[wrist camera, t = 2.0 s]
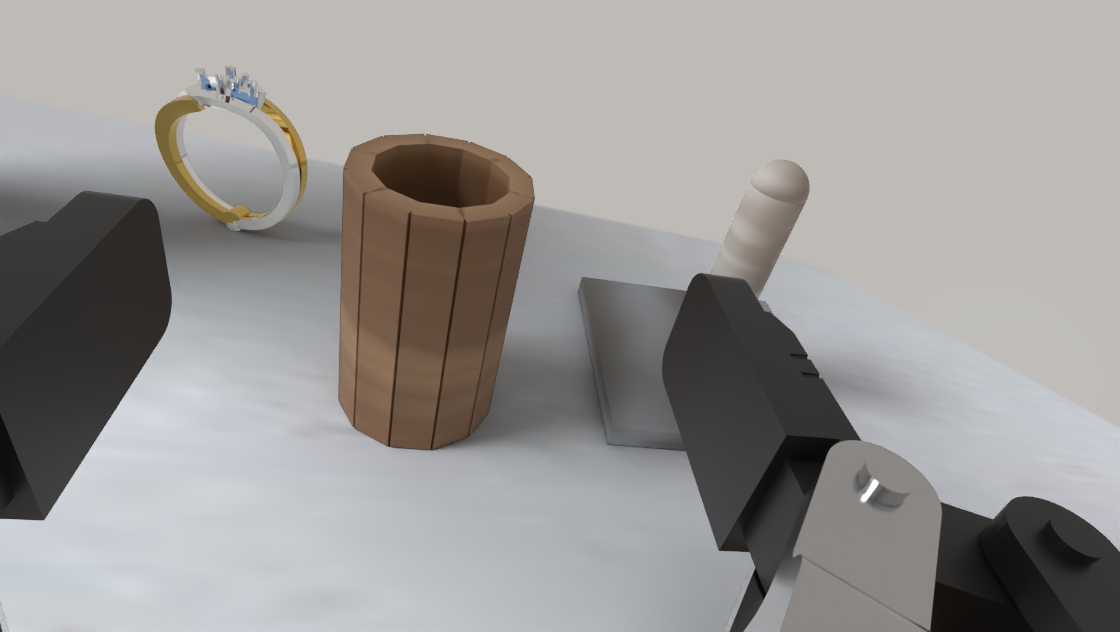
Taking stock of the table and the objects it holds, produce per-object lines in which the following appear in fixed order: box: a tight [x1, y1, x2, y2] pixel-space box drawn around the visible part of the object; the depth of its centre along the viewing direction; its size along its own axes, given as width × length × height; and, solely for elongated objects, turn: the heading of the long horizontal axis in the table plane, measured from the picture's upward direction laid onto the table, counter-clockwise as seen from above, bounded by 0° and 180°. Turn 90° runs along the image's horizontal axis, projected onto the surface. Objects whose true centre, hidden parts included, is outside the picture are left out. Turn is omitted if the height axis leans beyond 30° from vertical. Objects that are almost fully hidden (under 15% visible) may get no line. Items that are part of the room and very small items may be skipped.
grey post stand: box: [578, 160, 809, 450], centre depth 29 cm, size 11×11×11 cm
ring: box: [155, 66, 307, 231], centre depth 31 cm, size 7×3×8 cm, turn 74°
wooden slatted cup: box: [338, 134, 535, 450], centre depth 24 cm, size 6×6×10 cm
